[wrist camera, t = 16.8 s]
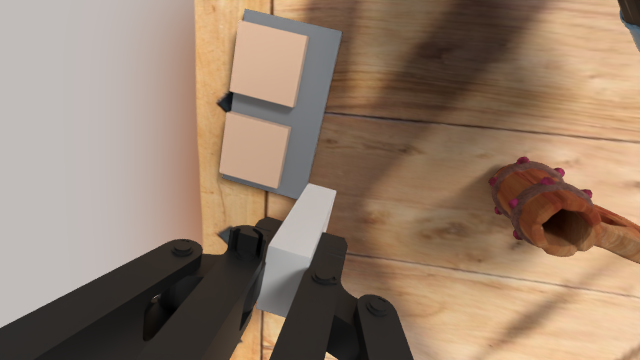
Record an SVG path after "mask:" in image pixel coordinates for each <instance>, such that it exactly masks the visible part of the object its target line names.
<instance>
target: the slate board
mask: <svg viewBox="0 0 640 360" xmlns="http://www.w3.org/2000/svg"><path fill="white" fill-rule="evenodd" d="M243 21H246V22H250V23H254V24H258V25H262V26H267V27H271V28H275V29H279V30H283V31H288V32H292V33H296V34H300V35H304V36H308V37H309V41H308V46H307V51H306V56H305V61H304V66H303V71H302V76H301V81H300V86H299V92H298V97H297V102H296V106H295V107H289V106H286V105H282V104H278V103H274V102H270V101H266V100H262V99H259V98H255V97H251V96H247V95H243V94H239V93H235V92H234V94H233V102H232V109H231V111H232V112H236V113H240V114H244V115H248V116H251V117H255V118H259V119H263V120H266V121H270V122H274V123H278V124H282V125H285V126H289V127H291V132H290V137H289V142H288V147H287V152H286V157H285V162H284V167H283V172H282V177H281V182H280V186H279V187H278V188H277V189H276V188H273V187H269V186H266V185H262V184H258V183H255V182H251V181H248V180H244V179H241V178H237V177H234V176H230V175H227V174H223V177H222V178H224V179H227V180H231V181H234V182H238V183H241V184H245V185H248V186H252V187H256V188H259V189H263V190H266V191H270V192H273V193H277V194H280V195H284V196H287V197H291V198H294V199H299V197H300V196H301V194H302V192H303V191H304V189H305V188H306V186H307V185H308V183H309V179H310V175H311V170H312V166H313V161H314V157H315V153H316V148H317V144H318V139H319V135H320V131H321V126H322V122H323V118H324V113H325V109H326V104H327V100H328V96H329V91H330V87H331V82H332V78H333V74H334V69H335V65H336V61H337V56H338V52H339V47H340V43H341V39H342V34H343V32H342V31H338V30H333V29H329V28H325V27H321V26H316V25H312V24H308V23H304V22H299V21H295V20H291V19H286V18H282V17H278V16H274V15H269V14H265V13H261V12H257V11H252V10H248V9H245V11H244V19H243Z"/></svg>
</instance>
